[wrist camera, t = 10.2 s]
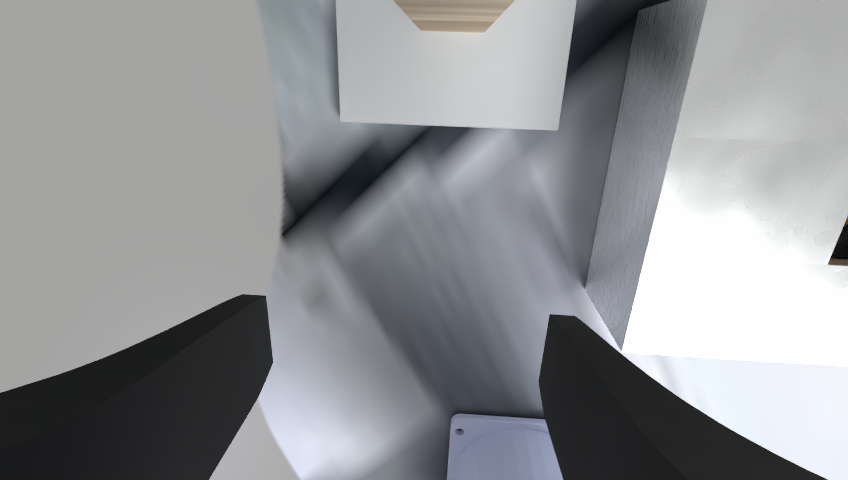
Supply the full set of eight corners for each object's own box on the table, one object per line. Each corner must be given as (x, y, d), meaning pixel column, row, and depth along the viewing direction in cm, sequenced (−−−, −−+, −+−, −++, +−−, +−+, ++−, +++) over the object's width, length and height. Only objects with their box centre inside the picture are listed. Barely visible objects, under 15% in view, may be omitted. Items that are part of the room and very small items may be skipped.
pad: (554, 128, 18) (557, 130, 18) (343, 120, 19) (340, 121, 18) (592, -139, 15) (597, -147, 14) (334, -142, 15) (329, -150, 15)
